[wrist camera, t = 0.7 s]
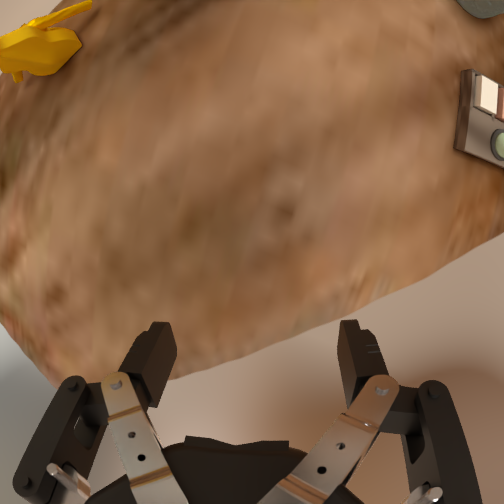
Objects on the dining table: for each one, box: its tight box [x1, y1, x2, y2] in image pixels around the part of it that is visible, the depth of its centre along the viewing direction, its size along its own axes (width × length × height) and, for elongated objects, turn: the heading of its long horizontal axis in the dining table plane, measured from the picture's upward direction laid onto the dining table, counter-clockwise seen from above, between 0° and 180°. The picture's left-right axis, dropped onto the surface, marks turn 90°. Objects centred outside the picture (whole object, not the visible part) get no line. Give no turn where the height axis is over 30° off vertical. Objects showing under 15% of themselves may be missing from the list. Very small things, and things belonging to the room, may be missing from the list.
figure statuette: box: [0, 0, 92, 83], centre depth 21 cm, size 18×8×22 cm, turn 121°
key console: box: [454, 69, 504, 168], centre depth 29 cm, size 12×14×4 cm
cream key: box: [473, 75, 498, 114], centre depth 26 cm, size 5×3×2 cm
